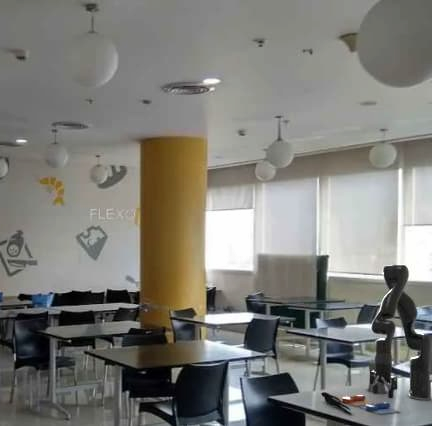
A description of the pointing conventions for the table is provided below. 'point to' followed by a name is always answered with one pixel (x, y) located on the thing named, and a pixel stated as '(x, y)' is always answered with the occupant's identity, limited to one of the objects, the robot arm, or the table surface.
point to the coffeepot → (380, 386)
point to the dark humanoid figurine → (334, 401)
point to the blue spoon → (377, 406)
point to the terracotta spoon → (353, 398)
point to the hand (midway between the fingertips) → (383, 396)
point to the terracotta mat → (359, 403)
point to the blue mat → (382, 410)
